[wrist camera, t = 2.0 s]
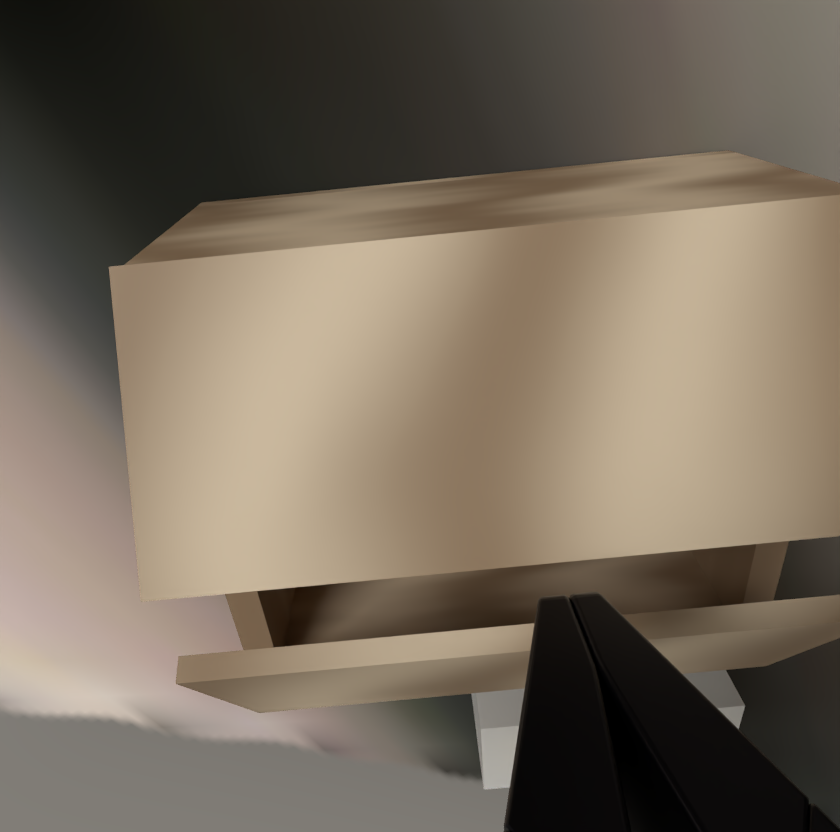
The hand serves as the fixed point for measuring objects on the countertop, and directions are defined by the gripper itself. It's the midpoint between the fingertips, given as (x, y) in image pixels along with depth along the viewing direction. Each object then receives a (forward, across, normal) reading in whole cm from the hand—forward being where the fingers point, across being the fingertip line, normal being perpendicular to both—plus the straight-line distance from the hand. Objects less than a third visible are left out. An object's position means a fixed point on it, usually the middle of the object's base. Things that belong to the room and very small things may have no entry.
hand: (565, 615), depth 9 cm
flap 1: (+4, 0, -1) cm, 4 cm away
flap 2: (+4, 0, +5) cm, 7 cm away
